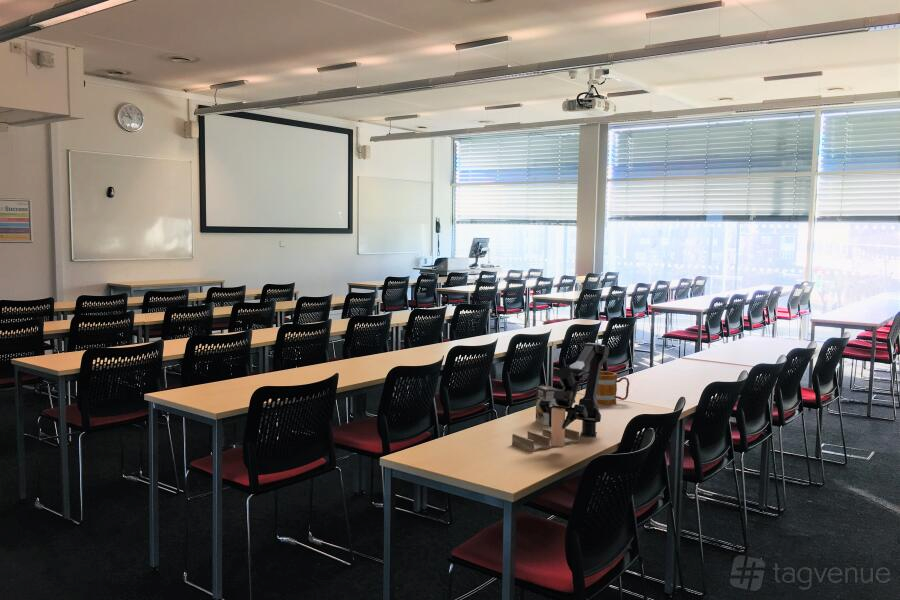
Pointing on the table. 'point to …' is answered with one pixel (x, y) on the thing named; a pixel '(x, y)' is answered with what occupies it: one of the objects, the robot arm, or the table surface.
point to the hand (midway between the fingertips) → (556, 427)
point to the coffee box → (544, 394)
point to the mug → (609, 388)
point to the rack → (542, 439)
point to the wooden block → (557, 426)
